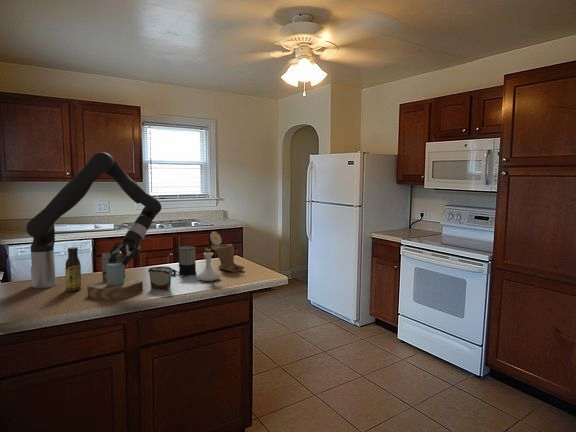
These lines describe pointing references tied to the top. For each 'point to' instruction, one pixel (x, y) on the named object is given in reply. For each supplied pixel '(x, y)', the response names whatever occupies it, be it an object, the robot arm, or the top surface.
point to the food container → (160, 278)
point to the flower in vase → (208, 272)
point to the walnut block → (115, 290)
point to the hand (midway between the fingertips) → (116, 263)
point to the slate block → (115, 273)
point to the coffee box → (105, 261)
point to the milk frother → (186, 261)
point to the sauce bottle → (73, 270)
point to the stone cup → (227, 258)
